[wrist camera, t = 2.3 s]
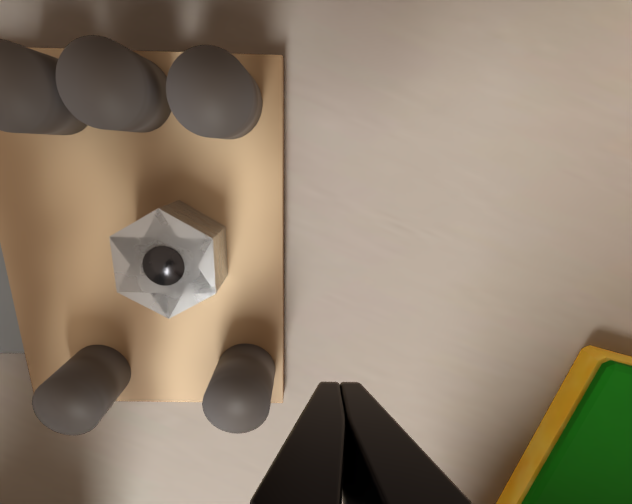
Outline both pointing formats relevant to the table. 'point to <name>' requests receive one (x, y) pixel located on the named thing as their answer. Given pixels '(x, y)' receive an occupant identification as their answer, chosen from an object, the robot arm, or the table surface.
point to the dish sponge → (581, 438)
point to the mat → (8, 315)
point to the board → (131, 205)
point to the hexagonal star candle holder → (170, 259)
